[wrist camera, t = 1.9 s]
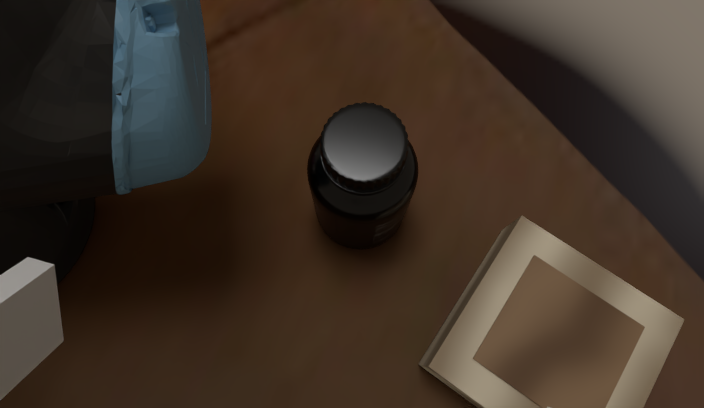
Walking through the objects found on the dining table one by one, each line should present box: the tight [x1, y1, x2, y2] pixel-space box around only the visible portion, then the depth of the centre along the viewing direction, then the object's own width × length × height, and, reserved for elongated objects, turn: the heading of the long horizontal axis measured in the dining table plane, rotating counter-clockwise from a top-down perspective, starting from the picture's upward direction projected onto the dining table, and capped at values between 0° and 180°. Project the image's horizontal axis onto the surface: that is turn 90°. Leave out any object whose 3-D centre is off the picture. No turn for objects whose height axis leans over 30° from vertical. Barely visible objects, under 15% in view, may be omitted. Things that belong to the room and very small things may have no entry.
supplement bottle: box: [307, 102, 418, 249], centre depth 30 cm, size 7×7×12 cm
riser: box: [419, 216, 684, 408], centre depth 31 cm, size 12×12×4 cm
